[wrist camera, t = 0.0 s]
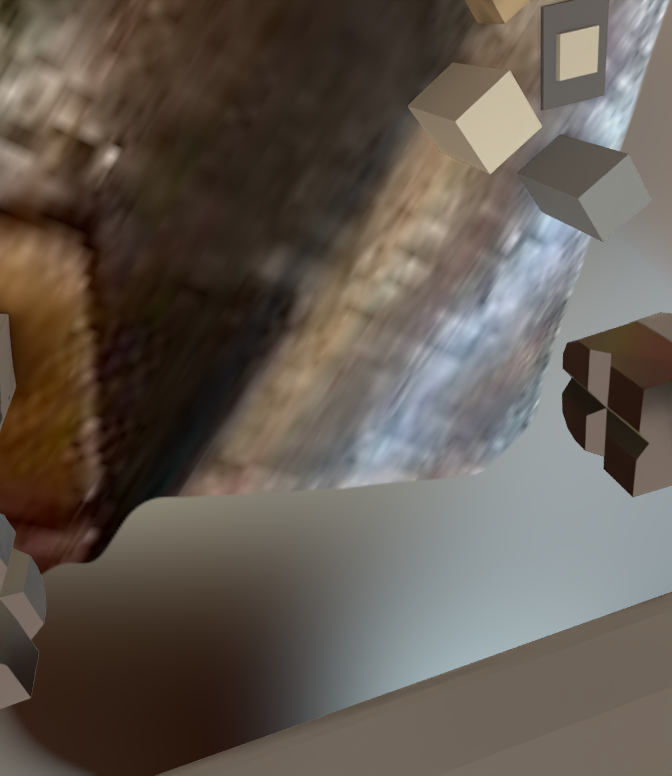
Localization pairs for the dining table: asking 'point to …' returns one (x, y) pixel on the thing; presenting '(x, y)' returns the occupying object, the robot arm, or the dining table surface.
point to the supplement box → (5, 368)
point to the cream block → (475, 115)
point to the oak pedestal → (494, 10)
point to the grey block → (585, 186)
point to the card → (573, 51)
